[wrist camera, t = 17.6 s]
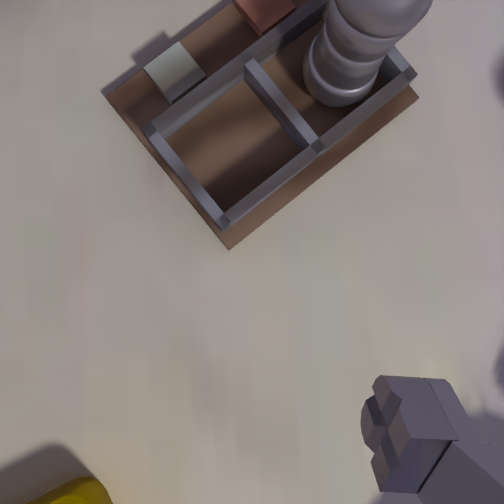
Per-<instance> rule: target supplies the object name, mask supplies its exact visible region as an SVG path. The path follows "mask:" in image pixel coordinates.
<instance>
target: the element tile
mask: <svg viewBox="0 0 504 504" xmlns="http://www.w3.org/2000/svg"><path fill="white" fill-rule="evenodd" d="M27 504H113V503H112V501H111V498H110V496H109V494H108V492H107V490H106V489H105V487H104V486H103V484H102V483H100V482H99V481H98V480H97V479H95V478H92V477H79V478H76V479H73V480H71V481H69V482H67V483H65V484H64V485H62V486H60V487H58V488H56V489H54V490H52V491H50V492H48V493H46V494H44V495H42V496H40V497H38V498H37V499H35V500H33V501H31V502H29V503H27Z"/></svg>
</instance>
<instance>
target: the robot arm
mask: <svg viewBox="0 0 504 504" xmlns="http://www.w3.org/2000/svg"><path fill="white" fill-rule="evenodd" d="M372 388H373V391H374V394H375V395H373V396H372V397H370V398H369V399H367V400H366V401H365V403H364V406H363V408H362V411H361V431H362V436H363V439H364V442H365V444H366V445H367V446H368V447H369V448H370V449H371V450H372V451H373V452H374V455H373V458H372V460H371V465H372V468H373V472H374V475H375V478H376V481H377V484H378V487H379V491H380V492H394V493H411V494H418V495H417V496H418V498H419V499H420V500H421V501H422V503H423V504H504V455H503V454H501V453H500V452H499V451H498V450H497V449H495V448H494V447H493V446H492V445H490V444H489V443H482V441H481V439H480V438H479V436H478V434H477V432H476V430H475V429H474V427H473V425H472V423H471V421H470V419H469V417H468V416H467V414H466V412H465V410H464V408H463V406H462V405H461V403H460V401H459V399H458V397H457V396H456V394H455V392H454V390H453V388H452V386H451V385H450V383H449V382H447V381H446V380H445V379H432V378H419V377H403V376H387V375H380V376H379V377H378V378H376V380H375V382H374V384H373V386H372Z"/></svg>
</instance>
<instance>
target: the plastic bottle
mask: <svg viewBox="0 0 504 504" xmlns="http://www.w3.org/2000/svg"><path fill="white" fill-rule="evenodd" d="M432 2H433V0H330V5H329V9H328V12H327V16H326V20H325V23H324V24H323V26H322V28H321V30H320V32H319V33H318V35H317V36H316V37H315V38H314V39H313V41H312V42H311V44H310V45H309V47H308V49H307V50H306V52H305V55H304V59H303V79H304V83H305V86H306V88H307V90H308V91H309V93H310V94H311V95H312V97H313V98H315V99H316V100H317V101H318V102H320V103H321V104H323V105H326V106H328V107H333V108H344V107H348V106H351V105H353V104H355V103H356V102H358V101H359V100H361V99H362V98H364V97H365V96H366V95H367V94H368V93H369V91H370V90H371V88H372V86H373V84H374V82H375V80H376V77H377V74H378V70H379V67H380V65H381V63H382V61H383V59H384V57H385V56H386V55H387V53H388V52H389V51H390V50H391V49H392V47H393V46H394V45H395V44H396V43H397V42H398V41H399V40H400V39H402V38H403V37H404V36H405V35H406V34H407V33H408V32H409V31H411V30H412V29H413V28H414V27H415V26H416V25H417V24H418V23H419V22H420V21H421V19H422V18H423V17H424V16H425V15H426V14H427V12H428V10H429V9H430V7H431V5H432Z"/></svg>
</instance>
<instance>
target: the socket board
mask: <svg viewBox="0 0 504 504" xmlns="http://www.w3.org/2000/svg"><path fill="white" fill-rule="evenodd" d="M329 5H330V0H234V1H232V2H231V3H230V4H228V5H227V6H226V7H224V8H223V9H222V10H220V11H219V12H218V13H216V14H215V15H214V16H212V17H211V18H210V19H208V20H207V21H206V22H204V23H203V24H202V25H200V26H199V27H198V28H196V29H195V30H194V31H192V32H191V33H190V34H188V35H187V36H186V37H184V38H183V39H182V40H180V41H178V42H176V43H175V44H174V45H172V46H171V47H170V48H168V49H167V50H166V51H164V52H163V53H162V54H160V55H159V56H158V57H156V58H155V59H154V60H152V61H151V62H150V63H148V64H147V65H146V66H144V67H143V69H142V70H140V71H139V72H138V73H136V74H135V75H134V76H132V77H131V78H130V79H128V80H127V81H126V82H124V83H123V84H122V85H120V86H119V87H118V88H116V89H115V90H114V91H112V92H111V93H110V94H108V95H107V96H106V98H107V100H108V101H109V103H110V104H111V105H112V106H113V107H114V109H115V110H116V111H117V112H118V114H119V115H120V116H121V117H122V119H123V120H124V121H125V122H126V124H127V125H128V126H129V127H130V129H131V130H132V131H133V132H134V134H135V135H136V136H137V137H138V138H139V140H140V141H141V142H142V143H143V145H144V146H145V147H146V148H147V150H148V151H149V152H150V153H151V155H152V156H153V157H154V158H155V160H156V161H157V162H158V163H159V165H160V166H161V167H162V168H163V169H164V171H165V172H166V173H167V174H168V176H169V177H170V178H171V179H172V181H173V182H174V183H175V184H176V186H177V187H178V188H179V189H180V191H181V192H182V193H183V194H184V196H185V197H186V198H187V199H188V201H189V202H190V203H191V204H192V205H193V207H194V208H195V209H196V210H197V212H198V213H199V214H200V215H201V217H202V218H203V219H204V220H205V222H206V223H207V224H208V225H209V227H210V228H211V229H212V230H213V232H214V233H215V234H216V235H217V236H218V238H219V239H220V240H221V241H222V243H223V244H224V245H225V246H226V248H227V249H228V250H230V249H232V248H233V247H234V246H235V245H236V244H238V243H239V242H240V241H241V240H243V239H244V238H245V237H246V236H248V235H249V234H250V233H251V232H253V231H254V230H255V229H256V228H258V227H259V226H260V225H261V224H263V223H264V222H265V221H266V220H268V219H269V218H270V217H271V216H273V215H274V214H275V213H276V212H278V211H279V210H280V209H281V208H283V207H284V206H285V205H286V204H288V203H289V202H290V201H291V200H293V199H294V198H295V197H296V196H298V195H299V194H300V193H301V192H303V191H304V190H305V189H306V188H308V187H309V186H310V185H311V184H313V183H314V182H315V181H316V180H318V179H319V178H320V177H321V176H323V175H324V174H325V173H326V172H328V171H329V170H330V169H331V168H333V167H334V166H335V165H336V164H338V163H339V162H340V161H341V160H343V159H344V158H345V157H346V156H348V155H349V154H350V153H351V152H353V151H354V150H355V149H356V148H358V147H359V146H360V145H361V144H363V143H364V142H365V141H366V140H368V139H369V138H370V137H371V136H373V135H374V134H375V133H376V132H378V131H379V130H380V129H381V128H383V127H384V126H385V125H386V124H388V123H389V122H390V121H391V120H393V119H394V118H395V117H396V116H398V115H399V114H400V113H401V112H403V111H404V110H405V109H406V108H408V107H409V106H410V105H411V104H413V103H414V102H415V101H416V100H417V99H418V98H419V96H418V95H417V94H416V93H415V92H414V90H413V89H412V88H411V87H410V85H409V83H410V82H411V81H412V80H413V79H414V78H415V77H416V76H417V75H418V74H417V73H416V72H415V70H414V69H413V68H412V67H411V65H410V64H409V63H408V62H407V61H406V59H405V58H404V57H403V56H402V55H401V53H400V52H399V51H398V50H397V49H396V47H395V46H393V47H392V49H391V50H390V51H389V52H388V53H387V55H386V56H385V57H384V59H383V61H382V63H381V65H380V67H379V70H378V74H377V77H376V80H375V82H374V84H373V86H372V88H371V90H370V91H369V93H368V94H367V95H366V96H365V97H364V98H362V99H361V100H359V101H358V102H356V103H355V104H353V105H351V106H348V107H344V108H333V107H328V106H326V105H323V104H321V103H320V102H318V101H317V100H316V99H315V98H313V97H312V95H311V94H310V93H309V91H308V90H307V88H306V86H305V83H304V79H303V59H304V55H305V52H306V50H307V49H308V47H309V45H310V44H311V42H312V41H313V39H314V38H315V37H316V36H317V35H318V33H319V32H320V30H321V28H322V26H323V24H324V23H325V20H326V16H327V12H328V9H329Z"/></svg>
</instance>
